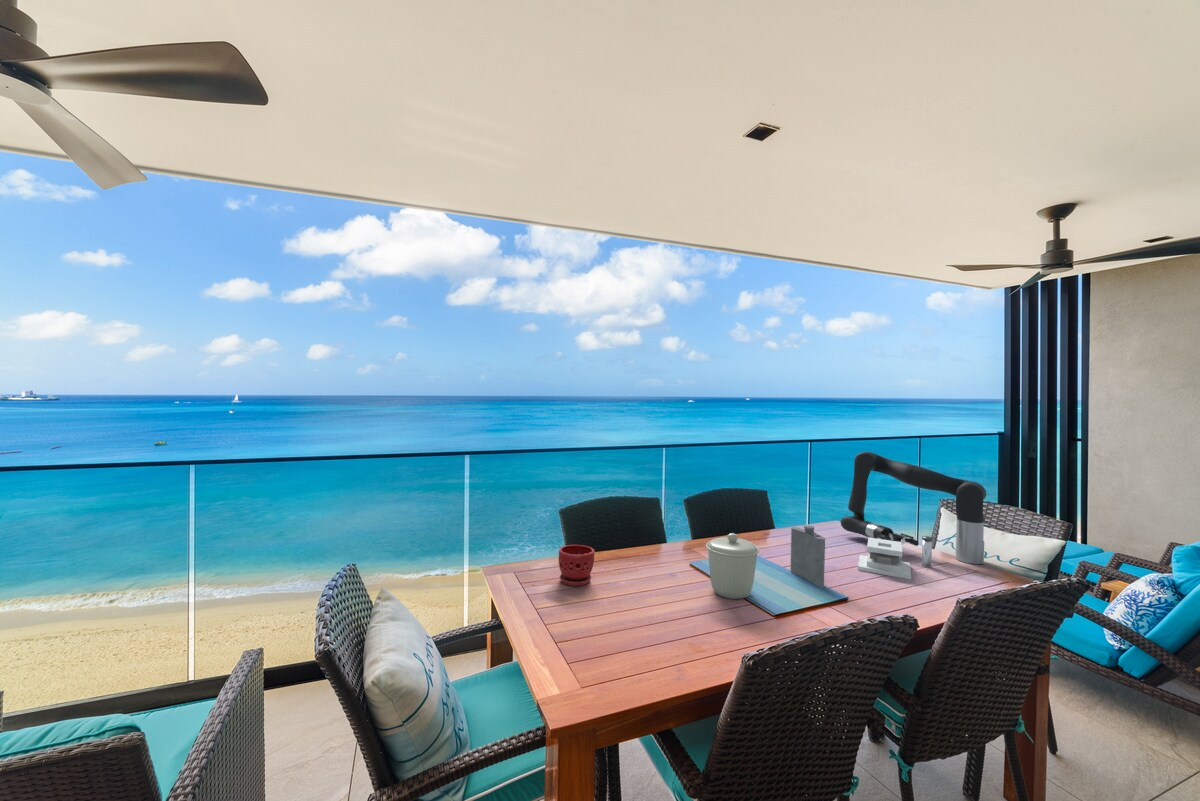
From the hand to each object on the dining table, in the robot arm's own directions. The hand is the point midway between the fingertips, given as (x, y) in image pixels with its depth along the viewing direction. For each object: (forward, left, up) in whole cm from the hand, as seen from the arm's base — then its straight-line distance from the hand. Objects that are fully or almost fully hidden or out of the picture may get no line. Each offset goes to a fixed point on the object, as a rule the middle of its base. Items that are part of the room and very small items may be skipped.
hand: (909, 544), depth 209 cm
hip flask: (+34, +46, -7) cm, 58 cm away
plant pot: (+107, +95, -7) cm, 143 cm away
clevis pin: (-6, +6, -7) cm, 10 cm away
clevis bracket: (+9, +18, -7) cm, 21 cm away
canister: (+55, +75, -7) cm, 93 cm away
